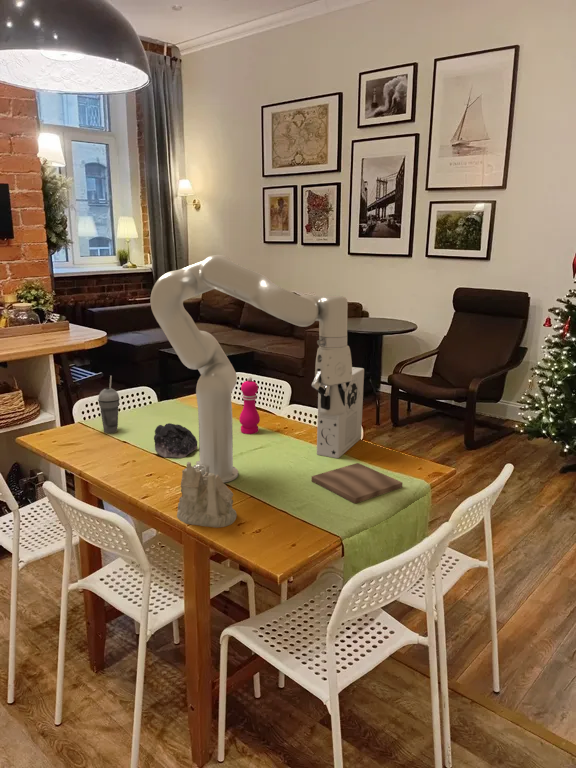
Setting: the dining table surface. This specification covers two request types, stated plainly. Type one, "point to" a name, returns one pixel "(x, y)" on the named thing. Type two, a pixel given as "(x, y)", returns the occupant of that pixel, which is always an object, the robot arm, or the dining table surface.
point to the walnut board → (356, 482)
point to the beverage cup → (109, 408)
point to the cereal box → (342, 421)
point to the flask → (334, 403)
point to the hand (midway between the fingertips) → (332, 406)
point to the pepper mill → (249, 408)
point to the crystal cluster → (174, 441)
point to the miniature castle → (205, 499)
